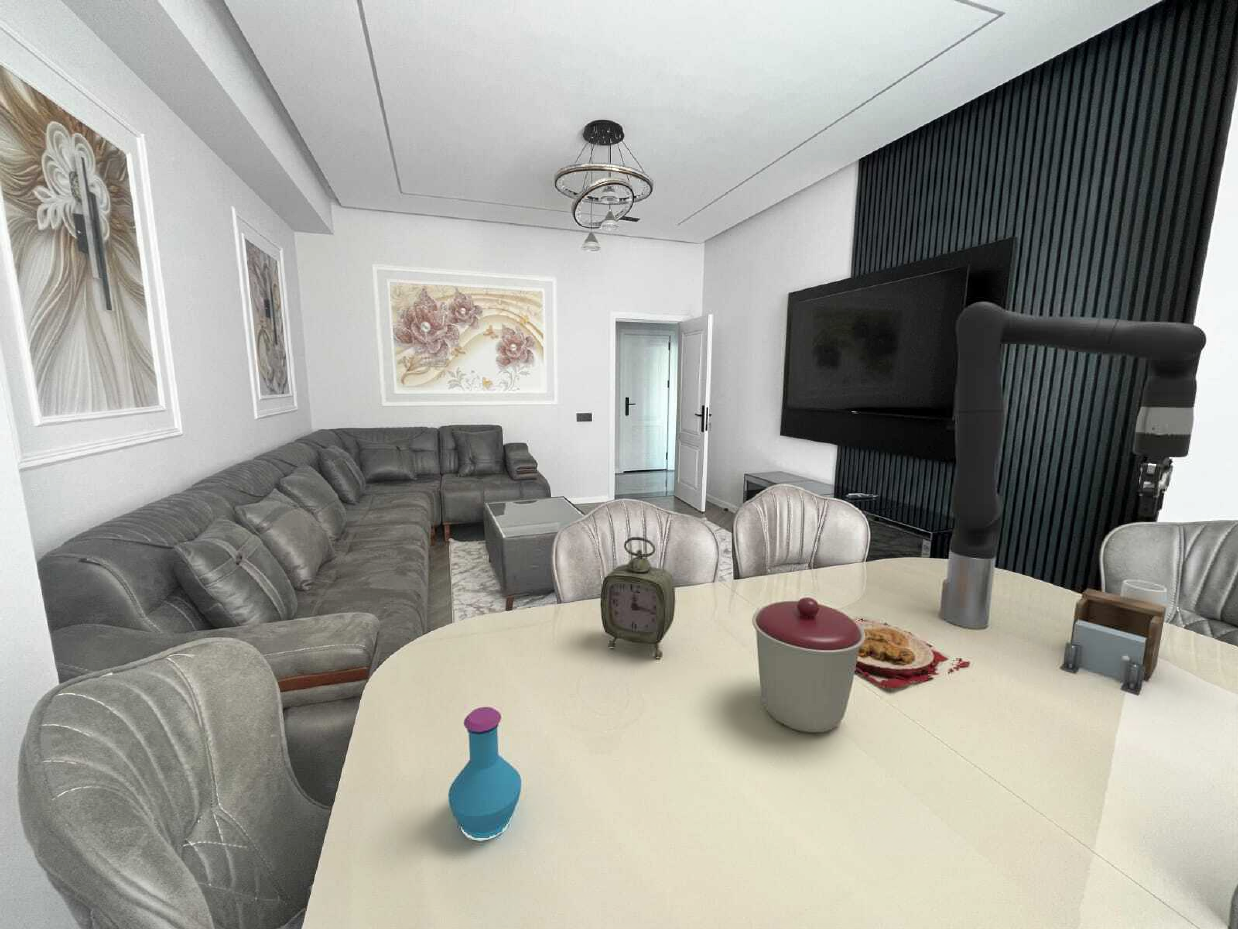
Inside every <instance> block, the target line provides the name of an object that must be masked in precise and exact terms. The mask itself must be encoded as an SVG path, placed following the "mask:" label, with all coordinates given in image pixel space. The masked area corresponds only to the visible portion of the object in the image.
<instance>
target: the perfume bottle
mask: <svg viewBox="0 0 1238 929" xmlns="http://www.w3.org/2000/svg"><path fill="white" fill-rule="evenodd" d="M501 720H502V715H501V713H500V712H499V711H498V710H497V709H495V708H493V707H491V706H480V707H478V708H475V709H474V710H472V711H470V712H469V714H468V715H467V716H466V717H465V718H464V720H463V726H464V727H465V728H466V730H467V733H468V744H469V746H468V747H469V748H468V749H469V760H468V761H467V763H466V764H465V765H464V767H463V768H462V769H461V770H460V772H459V773H458V775H457V776H456V777H455V778H454V780H453V781H452V783H451V785H450V787H449V789H448V803H449V804H448V805H449V808H450V810H451V812H452V815H453V816H454V818H455V819H456V822H457V824H458V825H459V827H460V828H461V827H462V829H463V830H464V832H466V833H467V834H468V835H471V836H472V837H474V838H489V837H490V836H493V835H497V834H498V833H500V832H502V830H503V828H505V827H506V825H507V824H508V823H509V821H510V818H511V816H512V817H513V814H514V812H515V810H516V807H517V804H518V802H519V799H520V795H521V791H522V778H521V775H520V773H519V771H518V770H517V769H515V767H514V766H513V765H511V764H510V763H509V762H508V761H507V760H505V759H504V757H502V756H501V755H500V754H499V740H498V739H499V738H498V737H499V736H498V728H499V723H500V722H501Z"/></svg>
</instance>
